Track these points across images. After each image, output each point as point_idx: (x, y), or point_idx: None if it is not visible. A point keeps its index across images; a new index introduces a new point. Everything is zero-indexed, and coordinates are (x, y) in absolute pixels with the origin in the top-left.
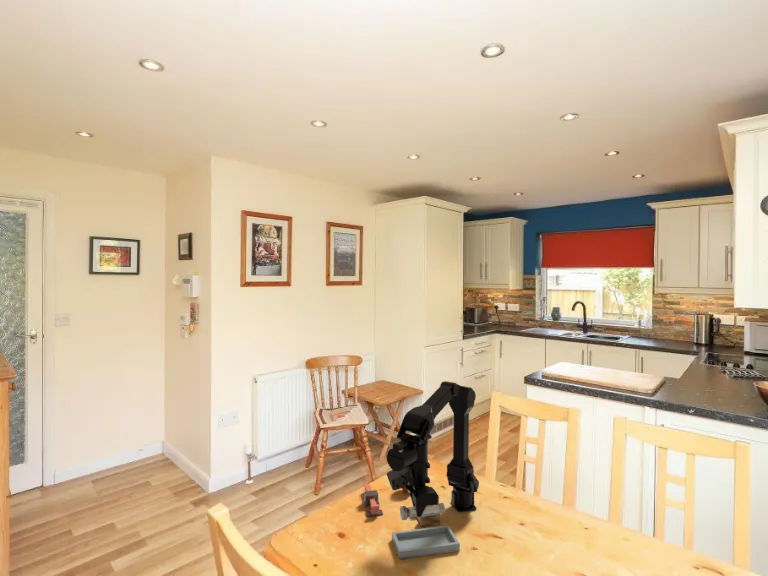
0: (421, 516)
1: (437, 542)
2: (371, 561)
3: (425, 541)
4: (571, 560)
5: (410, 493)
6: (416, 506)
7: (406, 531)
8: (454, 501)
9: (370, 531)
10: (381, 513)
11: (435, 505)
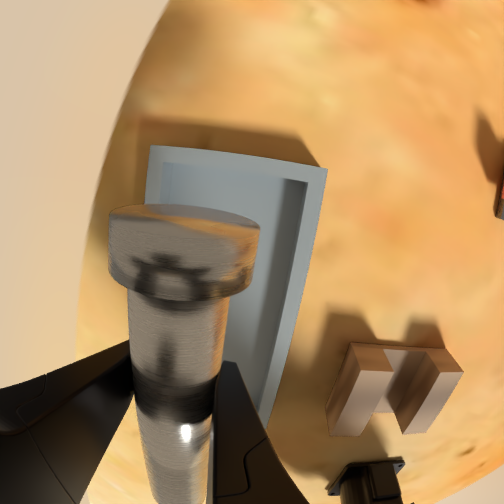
0: (361, 371)
1: None
2: (201, 28)
3: (230, 311)
4: (105, 491)
5: (243, 488)
6: (31, 380)
7: (303, 252)
8: (372, 479)
9: (417, 100)
10: (500, 211)
11: (159, 485)
